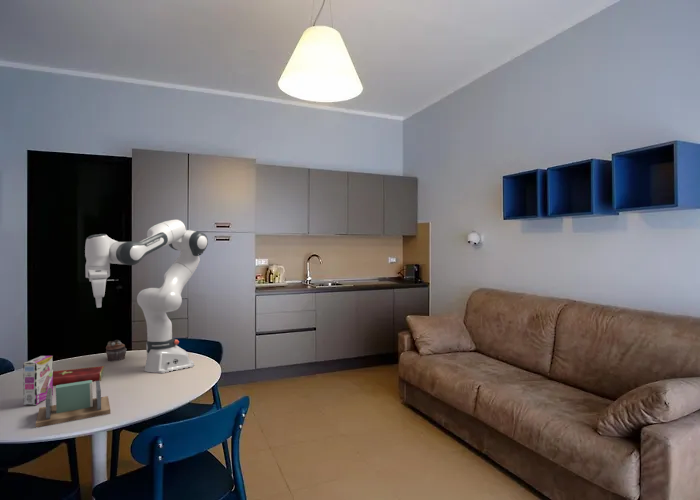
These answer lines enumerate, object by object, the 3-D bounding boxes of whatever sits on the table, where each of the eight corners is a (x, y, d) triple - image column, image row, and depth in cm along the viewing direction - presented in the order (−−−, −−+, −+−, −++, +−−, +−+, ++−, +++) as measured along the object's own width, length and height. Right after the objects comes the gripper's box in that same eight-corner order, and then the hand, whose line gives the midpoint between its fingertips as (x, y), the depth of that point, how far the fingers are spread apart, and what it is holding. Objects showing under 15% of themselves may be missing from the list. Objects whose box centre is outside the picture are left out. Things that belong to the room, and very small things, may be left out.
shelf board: (108, 399, 173) (107, 396, 172) (110, 413, 159) (110, 409, 159) (39, 411, 161) (39, 407, 161) (35, 427, 147) (35, 423, 147)
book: (56, 410, 159) (56, 385, 158) (92, 403, 164) (92, 379, 164) (56, 413, 156) (55, 388, 155) (92, 406, 161) (92, 382, 161)
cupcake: (114, 362, 225) (114, 343, 225) (101, 360, 229) (101, 341, 229) (130, 357, 234) (130, 339, 234) (118, 355, 238) (118, 337, 238)
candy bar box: (37, 405, 167) (36, 362, 167) (23, 406, 167) (22, 363, 166) (54, 395, 178) (53, 355, 178) (41, 395, 178) (40, 355, 177)
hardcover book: (100, 381, 196) (100, 372, 196) (45, 388, 188) (44, 378, 188) (104, 374, 207) (104, 365, 207) (51, 379, 199) (51, 370, 199)
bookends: (99, 398, 170) (99, 380, 170) (101, 409, 159) (100, 390, 158) (48, 407, 161) (47, 388, 161) (46, 419, 150) (45, 399, 150)
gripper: (88, 271, 191) (89, 303, 191) (89, 274, 174) (90, 309, 174) (105, 271, 194) (106, 302, 195) (107, 274, 177) (108, 308, 177)
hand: (98, 305), depth 184 cm, fingers open, 8 cm apart
